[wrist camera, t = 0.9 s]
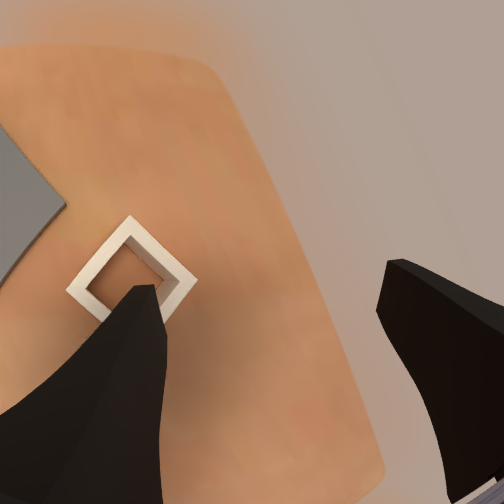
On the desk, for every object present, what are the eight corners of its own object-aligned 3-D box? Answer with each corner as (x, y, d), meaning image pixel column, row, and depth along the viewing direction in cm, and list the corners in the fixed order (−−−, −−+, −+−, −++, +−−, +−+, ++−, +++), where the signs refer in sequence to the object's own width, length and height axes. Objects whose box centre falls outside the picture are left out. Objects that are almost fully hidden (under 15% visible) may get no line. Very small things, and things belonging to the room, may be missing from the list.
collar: (130, 341, 19) (141, 353, 16) (67, 287, 17) (65, 290, 14) (179, 278, 21) (197, 279, 18) (121, 224, 19) (129, 214, 16)
